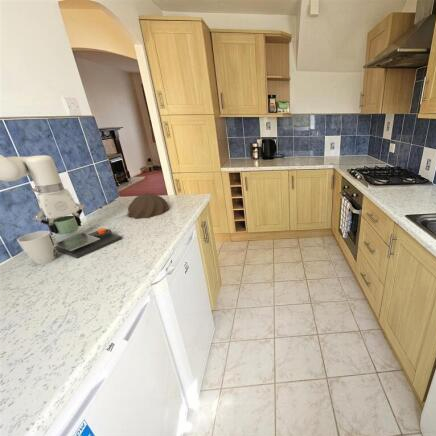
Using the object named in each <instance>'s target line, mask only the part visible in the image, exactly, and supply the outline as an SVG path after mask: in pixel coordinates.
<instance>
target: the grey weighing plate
mask: <svg viewBox="0 0 436 436" xmlns="http://www.w3.org/2000/svg"><path fill="white" fill-rule="evenodd" d="M88 234H89V233H86V232H83V233H80V234H77V235H75V236H72V237H68V238H65V239H64V240H61V241H58V242H54V246H58V247H61V248H63V249H66V250H68V251H72V250H74V249H77V248H79V247H82V246H84V245H87V244H89V243H92V242H94V241H97V240H99V239H100V238H97V237H94V236H91V235H88Z"/></svg>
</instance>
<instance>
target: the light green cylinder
mask: <svg viewBox="0 0 436 436" xmlns="http://www.w3.org/2000/svg"><path fill="white" fill-rule="evenodd" d="M53 224H54V225H55V226H56V228H57V230H58V234H57V235H68V234H72V233H74V232H77V231H78V230H79V228H80V226H78V224H77V221H76V219H75V216H73V215H66V216H63V217H59V218H55V219H54V221H53Z"/></svg>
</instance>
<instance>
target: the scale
mask: <svg viewBox="0 0 436 436" xmlns="http://www.w3.org/2000/svg"><path fill="white" fill-rule="evenodd" d="M106 231H107V232H106V233H104V234H98V232H97V230H96V231H93V232H91V233H87V234H88V235H91V236H94V237H97V238H100V239H99V240H97V241H94V242H92V243H89V244H87V245H84V246H82V247H79V248H77V249H74V250H72V251H68V250H66V249H63V248H61V247H58V246H56V245H54V246H55V250H56V251H59V252H60V253H63V254H66V255H68V256H71V257H73V258H75V259H80V258H82V257H85V256H88V255H90V254H92V253H94V252H97V251H98V250H101V249H103V248H105V247H108V246H111V245H112V244H115V243H118V242H119V241H121V240H123V238H122V236H121V235H118V234H115V233H113V232H112V229H109V228H106Z"/></svg>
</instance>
